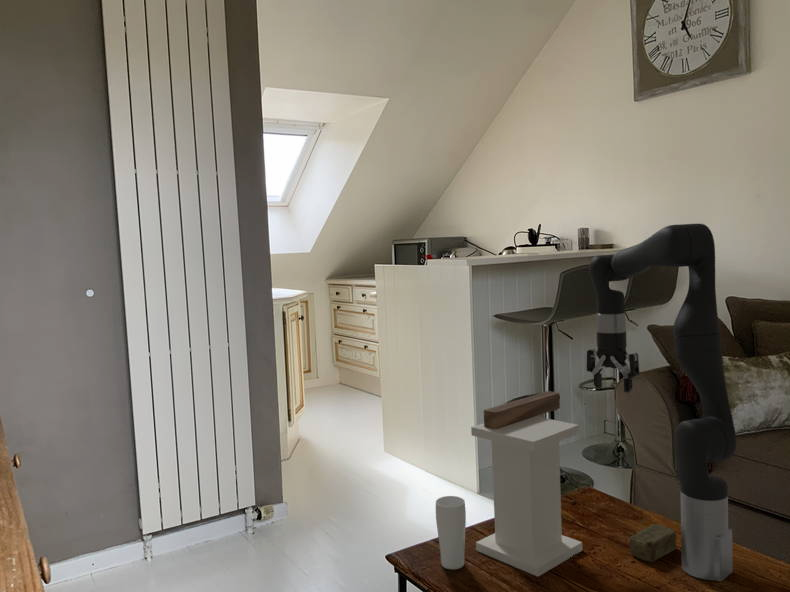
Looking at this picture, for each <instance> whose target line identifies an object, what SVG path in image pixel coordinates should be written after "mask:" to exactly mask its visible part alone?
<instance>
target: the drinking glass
mask: <svg viewBox="0 0 790 592" xmlns="http://www.w3.org/2000/svg"><path fill="white" fill-rule="evenodd" d="M466 514H467V511H466V503H465V499H464V498H462V497H459V496H455V495H447V496H442V497H439V498H437V499H436V500H435V520H436V521H435V522H436V529H437V537H438V544H439V552H440V563H441V566H442V568H444V569H447V570H451V571H452V570H453V571H454V570H455V571H456V570H459V569H461V568H463V567H464V565H465V547H466V546H465V545H466V523H467V521H466V519H467V518H466V517H467V516H466Z"/></svg>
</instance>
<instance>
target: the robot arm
mask: <svg viewBox="0 0 790 592" xmlns="http://www.w3.org/2000/svg"><path fill="white" fill-rule="evenodd" d="M713 235H714V234H713V233H712V230H711V229H710V227H708V226H707V225H706V224H704V223H687V224H684V223H683V224H671V225H667V226H665V227H662V228H660V229H659V230H657V231H656V232H655V233H653V234H652V235H651V236H649V237H648V238H646V239H645V240H643V241H642V242H640V243H638V244H635V245H632V246H629V247H625V248H623V249H620V250H618V251H617V252H616V253H615V254H605V255H604V254H601V255H600V254H599V255H596V256H593V258H592V259H591V260H590V262H589V265H588V271H589V277H590V280H591V283H592V286H593V288H594V289H593V290H594V292H595V297H596V321H595V322H596V326H595V327H596V346H597V350H596V349H595V348H591V349H587V351H586V372H588V373H589V372H590V373H592V374H593V386H594V387H595V389H601V388H602V387H603V377H602V376H603V375H602V371H604V368H607V369H608V368H612V369H614V370H615V369H617V370H618V371H619V373H621V375H622V376H623V393H626V394H628V393H630V392H631V391H632V390H633V378H634V377H638V376H639V375H640V364H639V363H640V362H639V354H638V353H637V352H635V353H628V352H627V347H628V346H627V320H626V319H627V318H626V313H625V312H626V309H625V308H626V307H625V303H626V302H625V299H626V298H625V295H624V294H625V293H624V292H623V291H621V290H617V289H611V288H610V285H609V283H608V282H620V281H627V280H629V279H630V278H631V277H633V276H636V275H640V274H643V273H645V272H647V271H649V270H650V269H651V268H652V267H656V266H657V267H672V268H679V267H681V268H682V267H688V289H687V292H686V295H685V298H684V301H683V303H682V304H681V307H680V309H679V311H678V313H677V315H676V317H675V321H674V323H673V329H672V334H673V335H672V336H673V343H674V344H673V345H674V353H675V357H676V361H677V363H678V365H679V366H680V368H681V370H682V371H683V373H684V374H685V376H687V378H688V380H689V381H690V382H691V383H692V385H693V386H694V387H695V389H696V392H697V394H698V395H699V399H700V403H701V408H702V418H694V419H688V420H684V421H681V422H679V424H678V425H677V427H676V429H675V433H674V450H675V451H674V452H675V462H676V473H677V474H676V475H677V478H678V481H679V486H680V487H679V488H680V534H681V535H680V539H681V540H680V542H681V543H680V544H681V547H680V549H681V568H682V570H683V571H684V572H685V573H687V574H688V575H689V576H692V577H694V578H698V579H701V580H706V581H717V582H719V583H722V582H723V581H724V580H725V579H726V578H728V576H730V575H731V574H732V573H733V570H734V569H733V568H734V567H733V563H734V562H733V529H732V528H729V488H728V487H729V486H728V483H727V481H726V480H725V479H723V478H722V477H720V476H718V475H715V474H712V473H709V465H708V463H714V462H715V463H716V462H722V461H726V460H730V459H731V458H732V457H733V456H734V455H735V452H736V450H737V436H736V429H735V423H734V419H733V414H732V411H731V406H730V401H729V396H728V390H727V383H726V376H725V369H724V363H723V362H724V361H723V347H722V338H721V331H720V324H719V323H720V322H719V314H718V306H717V305H718V304H717V294H716V292H717V291H716V247H715V246H716V245H715V239H714V236H713ZM596 358H598V362H596ZM626 360H627V361H628V362H629V364H628V363H627V361H626Z"/></svg>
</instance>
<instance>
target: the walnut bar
mask: <svg viewBox="0 0 790 592" xmlns="http://www.w3.org/2000/svg"><path fill="white" fill-rule="evenodd" d="M560 408H561V404H560V392H556V391H550V390H547V391H543V392H540V393H537V394H534V395H531V396H530V395H529V396H527V397H523V398H520V399H517V400H514V401H510V402H506V403H502V404H500V405H497V406H493V407H489V408H486V409H484V410H483V423H484V427H487V428H491V429H499V428H502V427H505V426H508V425H511V424H514V423H517V422H520V421H523V420H526V419H529V418H532V417H535V416H537V417H539V416H540V415H543V414H544V415H545V414H547V413H550V412H553V411H556V410H559V409H560Z"/></svg>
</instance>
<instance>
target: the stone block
mask: <svg viewBox="0 0 790 592" xmlns="http://www.w3.org/2000/svg"><path fill="white" fill-rule="evenodd" d="M629 538H630V539H629V548H630V555H632V556H634V557H635V558H637V559H640V560H642V561H644V562H648V563H653V562H656V561H657V560H659V559H661V558H663V557H664V555H665V556H667V555H668V554H670V553H672V552H673V551H675V550H676V549H677V547H678V545H677V532H676V530H675V529H672V528H669V527H667V526H664V525H660V524H657V523H653V524H652V525H649V526H647V527H645V528H643V529H642V530H639V531H638V532H636V533H634V534H632V535H631V536H630V537H629Z"/></svg>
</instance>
